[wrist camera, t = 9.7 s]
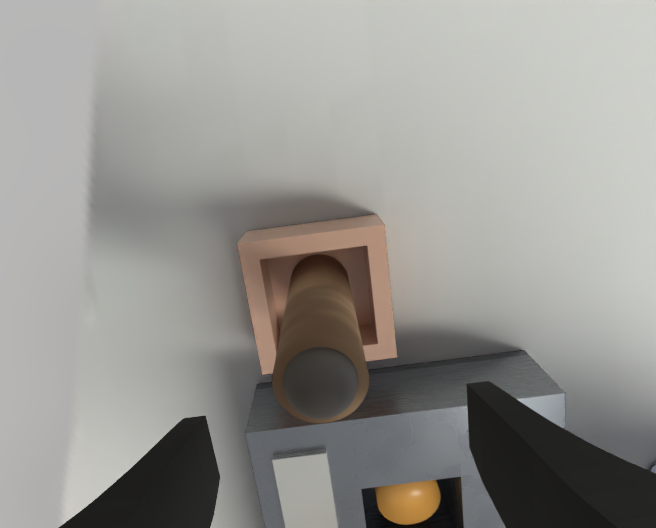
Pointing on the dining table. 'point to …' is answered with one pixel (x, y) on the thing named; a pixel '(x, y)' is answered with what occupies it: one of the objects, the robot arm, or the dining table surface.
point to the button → (408, 501)
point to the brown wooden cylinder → (320, 345)
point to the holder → (328, 239)
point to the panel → (388, 445)
